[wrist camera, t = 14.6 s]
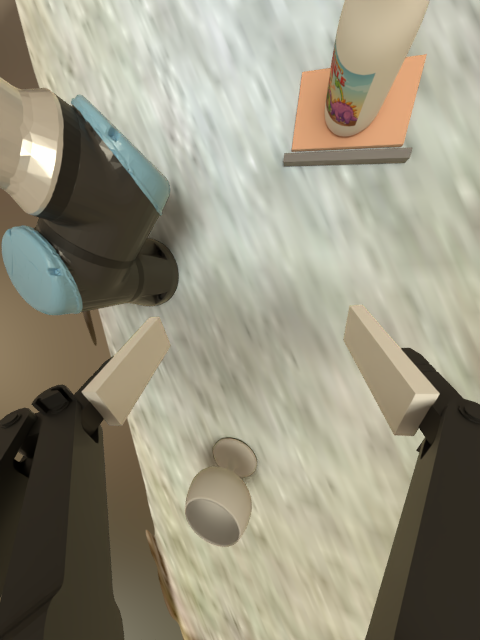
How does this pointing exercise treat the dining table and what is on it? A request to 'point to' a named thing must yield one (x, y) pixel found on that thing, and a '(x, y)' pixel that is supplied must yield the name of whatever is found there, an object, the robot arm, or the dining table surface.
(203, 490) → the chalice
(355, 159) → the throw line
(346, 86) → the milk bottle
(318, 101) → the tile
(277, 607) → the dining table surface
